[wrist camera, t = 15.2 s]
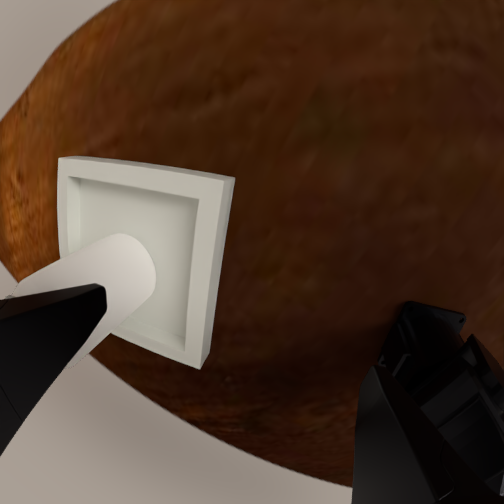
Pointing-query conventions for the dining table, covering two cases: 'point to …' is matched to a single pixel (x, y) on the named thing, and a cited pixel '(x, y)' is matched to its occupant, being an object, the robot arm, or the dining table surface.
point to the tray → (154, 242)
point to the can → (100, 281)
